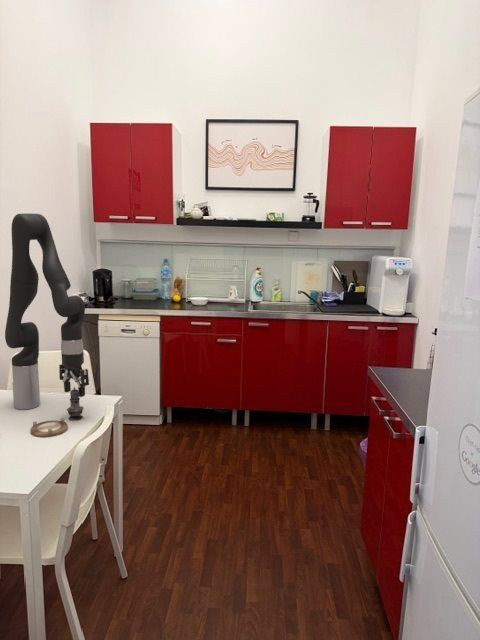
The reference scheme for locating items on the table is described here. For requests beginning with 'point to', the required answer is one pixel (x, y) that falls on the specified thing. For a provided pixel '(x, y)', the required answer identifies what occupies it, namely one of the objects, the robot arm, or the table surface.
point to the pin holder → (49, 428)
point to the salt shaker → (75, 406)
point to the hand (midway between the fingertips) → (74, 394)
